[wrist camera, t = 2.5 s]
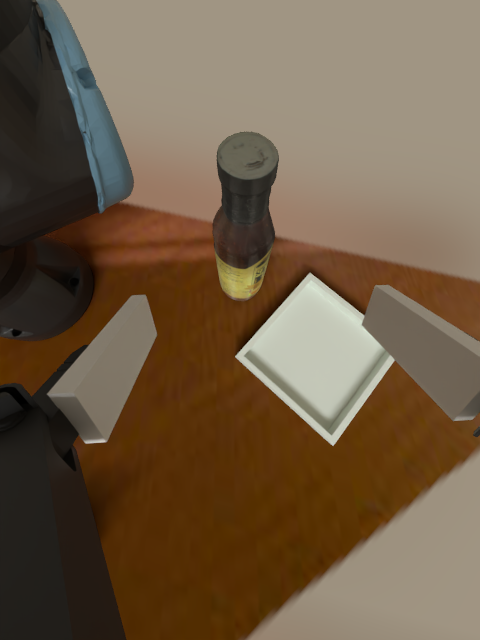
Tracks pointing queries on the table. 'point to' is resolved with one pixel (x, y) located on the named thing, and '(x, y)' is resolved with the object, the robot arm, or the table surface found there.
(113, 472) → the table surface
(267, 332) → the tray
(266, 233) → the sauce bottle
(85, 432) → the robot arm
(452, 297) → the table surface
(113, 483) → the table surface
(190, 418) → the table surface
